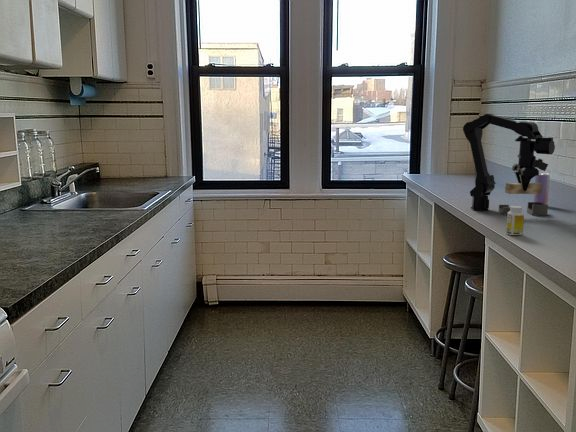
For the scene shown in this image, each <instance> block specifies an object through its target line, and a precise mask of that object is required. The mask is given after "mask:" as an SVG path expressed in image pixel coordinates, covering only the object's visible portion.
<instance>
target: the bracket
mask: <svg viewBox="0 0 576 432" xmlns="http://www.w3.org/2000/svg"><path fill="white" fill-rule="evenodd" d="M526 205H527V208H526V213H527V214H530V215H531V216H545V217H547V216H548V208H549V204H548V205H547V204H545V203H543V202H534V201H527V204H526Z"/></svg>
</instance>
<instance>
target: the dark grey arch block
mask: <svg viewBox="0 0 576 432" xmlns="http://www.w3.org/2000/svg"><path fill="white" fill-rule="evenodd" d="M510 207H511V206H510V205H509V204H498V212H499V213H500V214H501V215H502V216H507V214H508V212H509V211H510Z"/></svg>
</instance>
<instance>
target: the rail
mask: <svg viewBox="0 0 576 432" xmlns="http://www.w3.org/2000/svg"><path fill="white" fill-rule="evenodd" d="M542 185H543V184H540V183H535V182H530V183H529V185H528V188H527V191H523V187H522V183H518V182H505V187H504V193H505V194H508V195H514V194H515V195H534V194H542Z"/></svg>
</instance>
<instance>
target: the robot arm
mask: <svg viewBox="0 0 576 432" xmlns="http://www.w3.org/2000/svg"><path fill="white" fill-rule="evenodd" d="M489 125H494V126H497V127H500V128H504V129H508V130H511V131H513V132H514V133H516V134H517V135H519V136H518V137H517V138H515V139H514V141H515V142H517V143H518V142H519V152H518V154H517V158H518V163H514V164H513V165H512V167H511V168H512V169H511V170H512V171H513V172H514V175H515V177H516V180H517V183H522V187H523V191H527V188H528V185H529V183H531V180H532V179H533V178H536V176H538V175H539V173H540V171H543V172H546V170H547V168H548V166H549V164H548V163H546V162H544V161H543V160H544V159H541V158H539V157H538V158H537V156H536V155H535V153H536V154H538V155H539V154H540V155H553V154H554V152H555V149H556V145H555V142H554V137H544V136H543V135H542V133H541V131H540V130H539V126H538V124H537V123H536V122H533V121H520V120H519V121H518V120H514V119H510V118H507V117H502V116H499V115H495V114H494V113H484V114H483V115H481V116H479V117H478V118H476V119H474V120H471V121H467V122H466V123H465V124H464V125H463V127H462V130H463V133H464V137H465V139H466V140H467V141H468V143H469V144H470V150H471V154H472V159H473V164H474V168H475V169H474V170H475V173H476V174H475V175H476V176H475V179H474V184H475V186H474V187H473V188H472V189H471V190H470V191H469V194H470V197H471V198H472V199H471V206H470V209H471V210H473V211H489V208H490V199H489V196H490V195H491V193H492V192H493V191H494V189H495V188H496V187H495V186H496V182H495V177H494V176H495V175H494V174H491V175H490V173H489V171H488V167H487V162H486V159H485V153H484V152H485V151H484V149H483V145H482V144H483V143H482V138H483V130H484V129H485V128H487V127H488V126H489Z"/></svg>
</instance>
